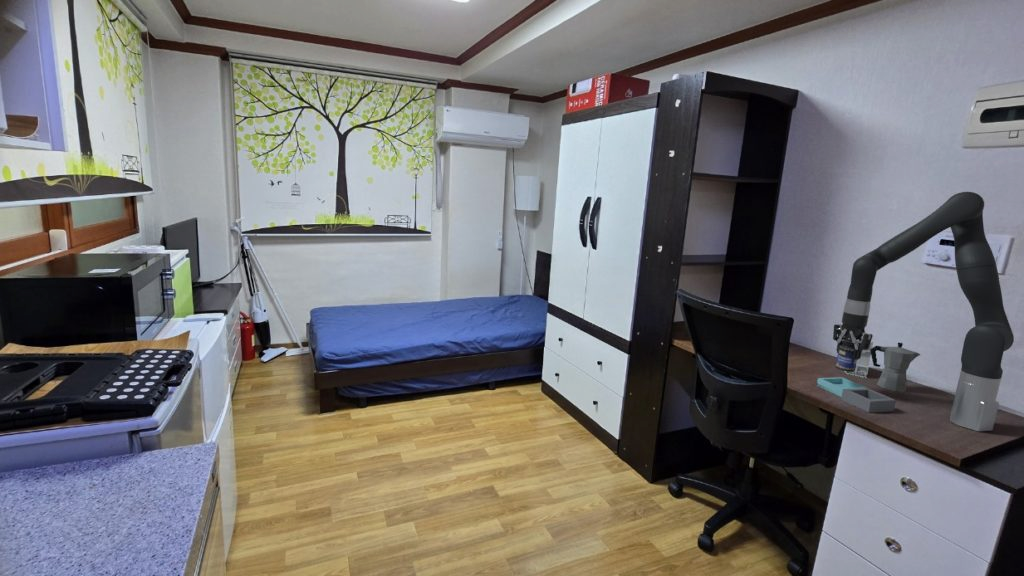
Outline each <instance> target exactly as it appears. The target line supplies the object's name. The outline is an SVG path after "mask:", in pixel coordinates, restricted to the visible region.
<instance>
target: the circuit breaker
mask: <svg viewBox="0 0 1024 576" xmlns="http://www.w3.org/2000/svg"><path fill="white" fill-rule="evenodd" d="M862 339H863V338H862ZM857 341H859V340H857ZM873 345H874V339H873V338H872V340H871V342H870V345H869V348H868V349H867V350H862V353H861V358H859V359H858V360H857V364H856V368H855V371H854V372H848V371H843V372H845V373H846V375H849V374H850V375H849V376H854V375H855V377H859V376H860V378H864V377H865V378H864V379H867V377H868V372H869V366H870V360H871V358H872V357H871V353H870V350H871V348H873V347H874V346H873ZM858 346H859V344H858Z"/></svg>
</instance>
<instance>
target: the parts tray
mask: <svg viewBox="0 0 1024 576" xmlns="http://www.w3.org/2000/svg"><path fill="white" fill-rule="evenodd" d="M816 386H817V387H819V388H821V389H823V390H825V391H828V392H830V393H831V394H834V395H836V396H838V397H839V398H841V397H842V392H843V389H856V388H867V387H866V386H864V385H862V384H859V383H856V382H854V381H852V380H849V379H847V378H845V377H842V376H841V377H839V376H838V377H818V378H817V383H816Z"/></svg>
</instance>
